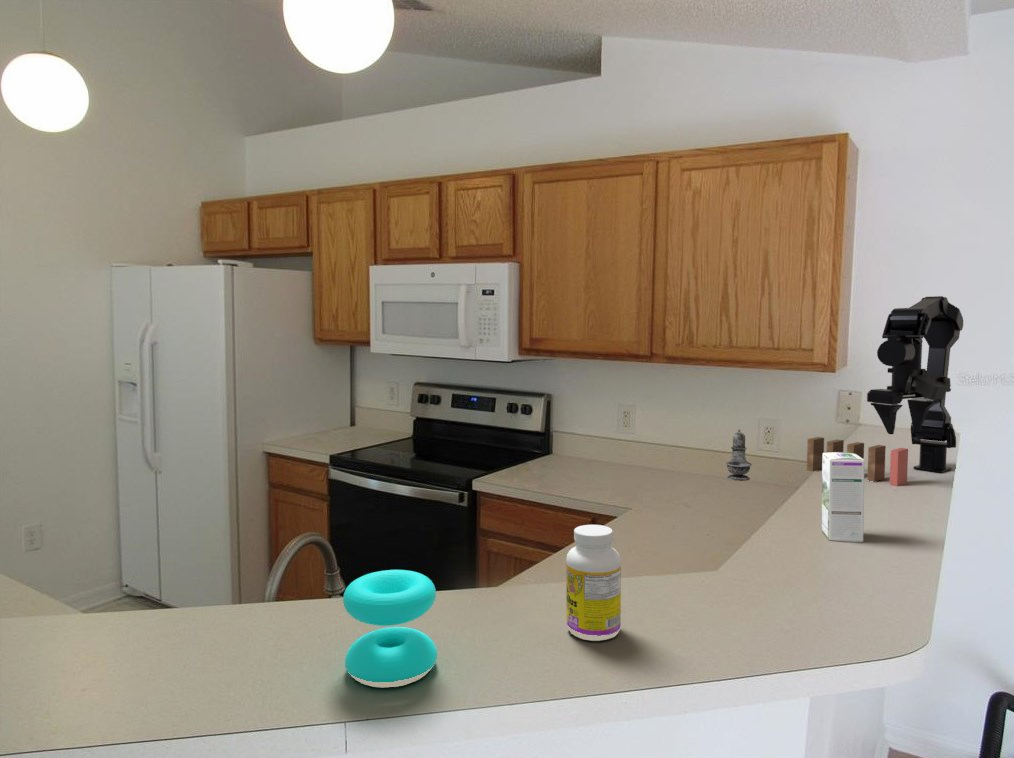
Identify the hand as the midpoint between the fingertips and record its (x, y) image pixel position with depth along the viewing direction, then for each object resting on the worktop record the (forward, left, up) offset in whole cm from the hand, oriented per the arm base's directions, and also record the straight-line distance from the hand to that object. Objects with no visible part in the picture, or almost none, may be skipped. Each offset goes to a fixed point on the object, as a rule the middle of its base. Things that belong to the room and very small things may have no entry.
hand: (904, 432), depth 158 cm
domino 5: (0, -1, -12) cm, 12 cm away
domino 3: (0, -11, -12) cm, 16 cm away
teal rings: (+132, +4, -12) cm, 133 cm away
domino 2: (0, -16, -12) cm, 20 cm away
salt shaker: (+23, -27, -12) cm, 38 cm away
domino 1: (0, -21, -12) cm, 24 cm away
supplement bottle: (+108, +11, -12) cm, 109 cm away
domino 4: (0, -6, -12) cm, 13 cm away
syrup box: (+48, +11, -12) cm, 51 cm away
